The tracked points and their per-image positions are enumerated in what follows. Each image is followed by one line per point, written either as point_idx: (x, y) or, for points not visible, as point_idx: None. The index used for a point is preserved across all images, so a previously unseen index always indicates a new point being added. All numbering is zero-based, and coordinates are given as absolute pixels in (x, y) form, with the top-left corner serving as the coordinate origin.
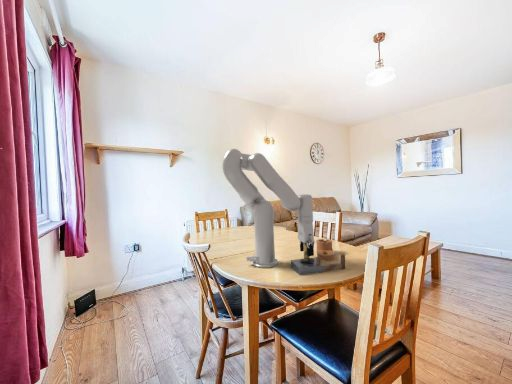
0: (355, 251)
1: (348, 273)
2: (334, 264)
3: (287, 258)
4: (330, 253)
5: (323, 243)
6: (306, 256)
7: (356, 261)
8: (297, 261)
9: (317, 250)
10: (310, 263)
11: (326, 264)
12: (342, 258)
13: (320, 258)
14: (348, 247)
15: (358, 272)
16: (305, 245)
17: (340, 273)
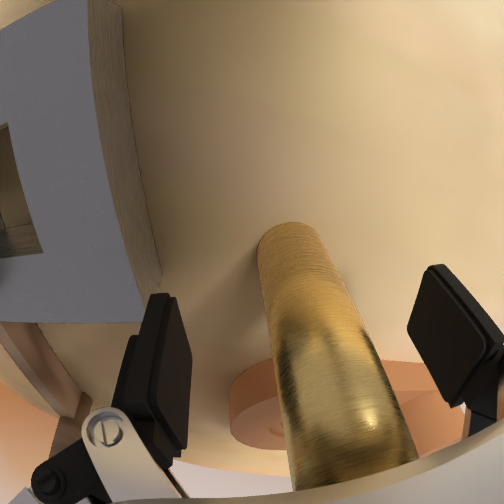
0: None
1: (18, 379)
2: (33, 385)
3: (436, 68)
4: (281, 439)
5: None
6: (265, 279)
7: (191, 456)
8: (11, 93)
9: (396, 393)
10: (18, 246)
11: (17, 350)
12: (52, 444)
13: (267, 370)
14: None
15: (43, 409)
16: (301, 425)
17: (5, 354)
